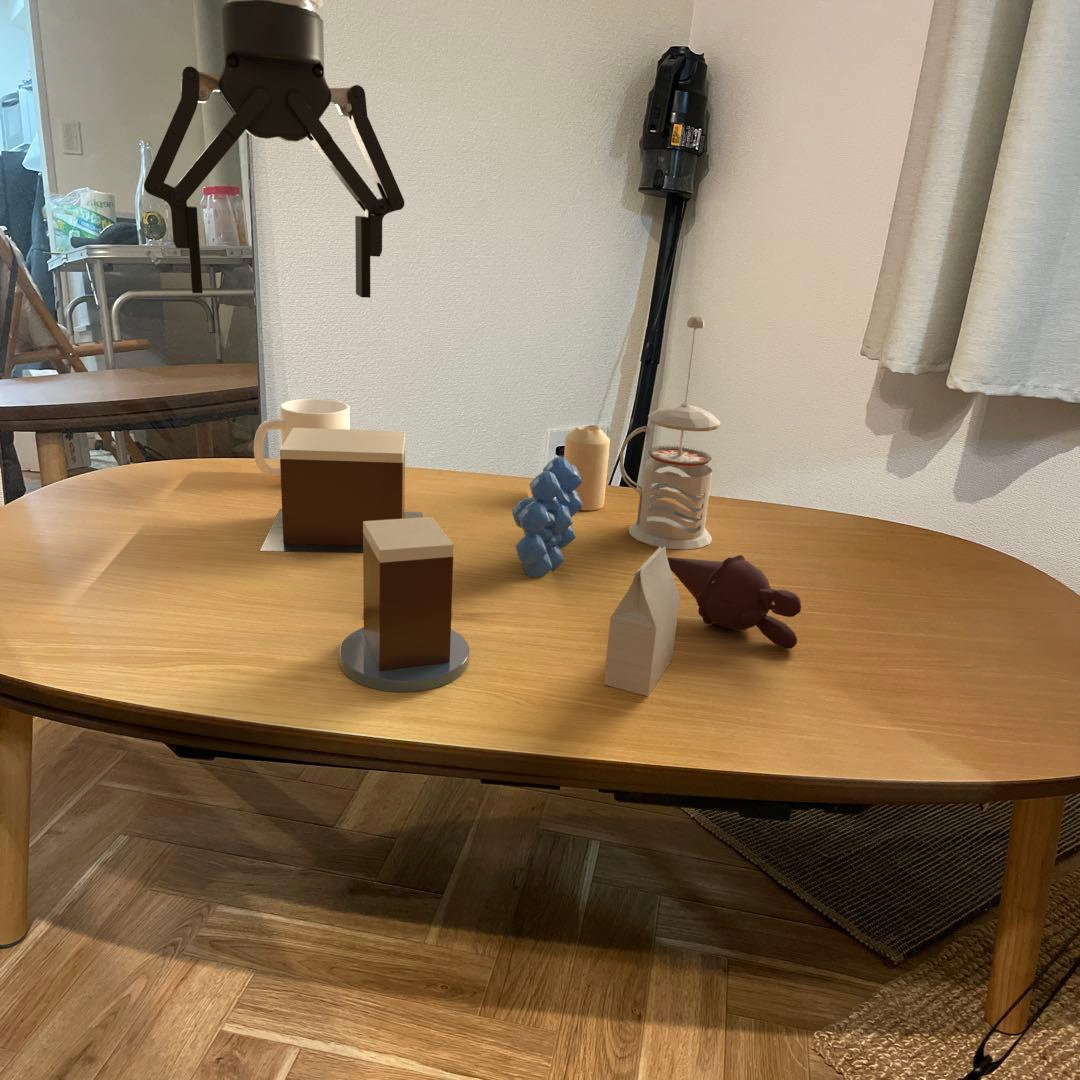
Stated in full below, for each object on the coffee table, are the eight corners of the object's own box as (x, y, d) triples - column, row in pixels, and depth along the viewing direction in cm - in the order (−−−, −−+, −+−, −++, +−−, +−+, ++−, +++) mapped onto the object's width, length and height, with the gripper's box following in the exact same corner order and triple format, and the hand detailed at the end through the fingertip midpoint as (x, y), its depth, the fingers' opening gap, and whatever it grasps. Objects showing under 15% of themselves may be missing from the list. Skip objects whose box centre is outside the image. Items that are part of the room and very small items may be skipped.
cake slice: (379, 671, 69) (379, 550, 65) (363, 634, 74) (362, 521, 71) (450, 662, 71) (454, 544, 67) (429, 627, 76) (431, 516, 73)
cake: (283, 544, 92) (279, 449, 88) (295, 514, 100) (292, 427, 97) (401, 546, 93) (402, 453, 90) (404, 517, 102) (405, 431, 98)
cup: (361, 489, 113) (360, 410, 110) (268, 502, 106) (264, 418, 103) (334, 472, 119) (332, 396, 116) (244, 483, 112) (240, 403, 109)
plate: (333, 692, 67) (332, 680, 67) (345, 629, 77) (345, 619, 77) (471, 692, 69) (472, 680, 68) (466, 630, 78) (467, 620, 78)
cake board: (260, 560, 90) (259, 550, 90) (280, 516, 102) (280, 508, 102) (420, 563, 92) (420, 554, 92) (422, 520, 104) (422, 512, 104)
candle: (581, 494, 117) (587, 419, 114) (612, 505, 114) (620, 428, 110) (551, 502, 113) (557, 424, 110) (583, 514, 110) (590, 434, 106)
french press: (712, 553, 100) (745, 325, 91) (609, 541, 102) (631, 315, 93) (711, 525, 109) (741, 315, 100) (616, 514, 111) (637, 306, 102)
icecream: (639, 545, 83) (776, 616, 73) (691, 513, 87) (827, 576, 77) (639, 604, 87) (769, 678, 77) (689, 571, 91) (818, 637, 81)
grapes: (532, 547, 98) (539, 440, 94) (589, 560, 96) (599, 451, 92) (482, 582, 88) (487, 465, 84) (544, 598, 86) (553, 478, 82)
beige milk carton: (671, 660, 76) (686, 550, 72) (648, 696, 70) (662, 578, 66) (630, 649, 77) (642, 541, 73) (603, 684, 71) (615, 568, 68)
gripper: (420, 35, 76) (416, 292, 84) (94, -9, 67) (122, 284, 75) (444, 22, 70) (437, 302, 77) (87, -28, 61) (119, 294, 68)
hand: (282, 294), depth 76 cm, fingers open, 13 cm apart
